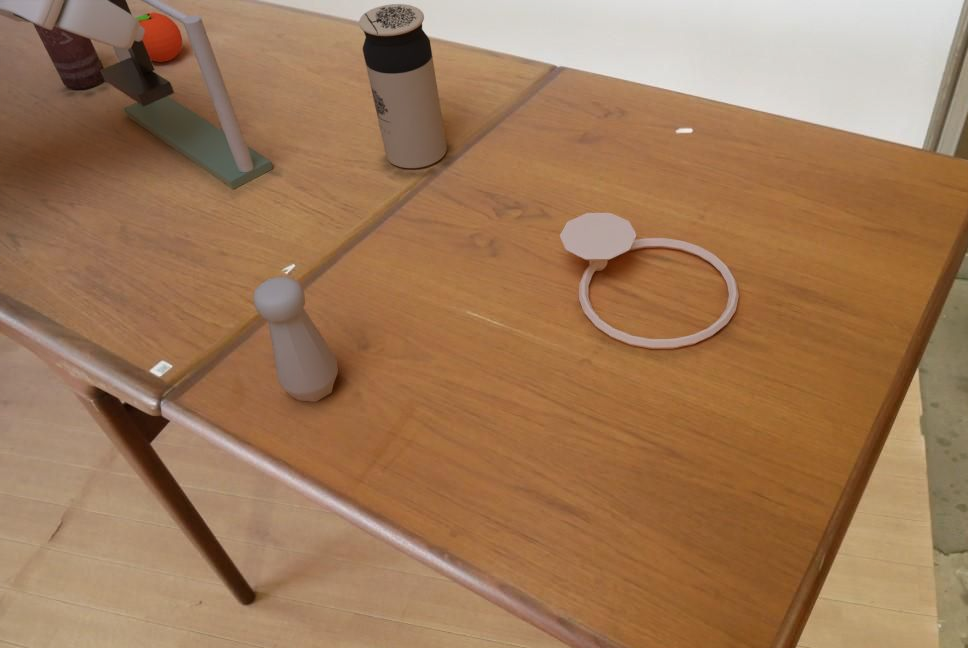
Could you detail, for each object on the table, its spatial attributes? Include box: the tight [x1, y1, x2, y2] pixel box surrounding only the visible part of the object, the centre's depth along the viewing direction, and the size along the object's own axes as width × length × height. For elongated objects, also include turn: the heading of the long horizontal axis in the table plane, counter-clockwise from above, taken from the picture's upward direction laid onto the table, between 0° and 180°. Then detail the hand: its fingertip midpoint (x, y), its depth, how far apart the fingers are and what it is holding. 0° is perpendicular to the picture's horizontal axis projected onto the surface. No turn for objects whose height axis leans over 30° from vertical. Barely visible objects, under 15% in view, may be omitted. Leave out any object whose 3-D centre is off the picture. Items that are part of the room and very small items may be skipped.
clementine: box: [135, 12, 183, 63], centre depth 128 cm, size 8×7×7 cm
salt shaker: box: [252, 276, 339, 403], centre depth 78 cm, size 6×6×13 cm
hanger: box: [100, 0, 175, 106], centre depth 102 cm, size 9×10×13 cm
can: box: [32, 23, 105, 91], centre depth 122 cm, size 6×6×14 cm
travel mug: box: [358, 3, 448, 169], centre depth 104 cm, size 8×8×18 cm
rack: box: [112, 0, 274, 190], centre depth 107 cm, size 6×28×20 cm, turn 47°
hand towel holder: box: [559, 212, 740, 350], centre depth 89 cm, size 17×4×21 cm
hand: (134, 30), depth 102 cm, fingers closed on hanger
